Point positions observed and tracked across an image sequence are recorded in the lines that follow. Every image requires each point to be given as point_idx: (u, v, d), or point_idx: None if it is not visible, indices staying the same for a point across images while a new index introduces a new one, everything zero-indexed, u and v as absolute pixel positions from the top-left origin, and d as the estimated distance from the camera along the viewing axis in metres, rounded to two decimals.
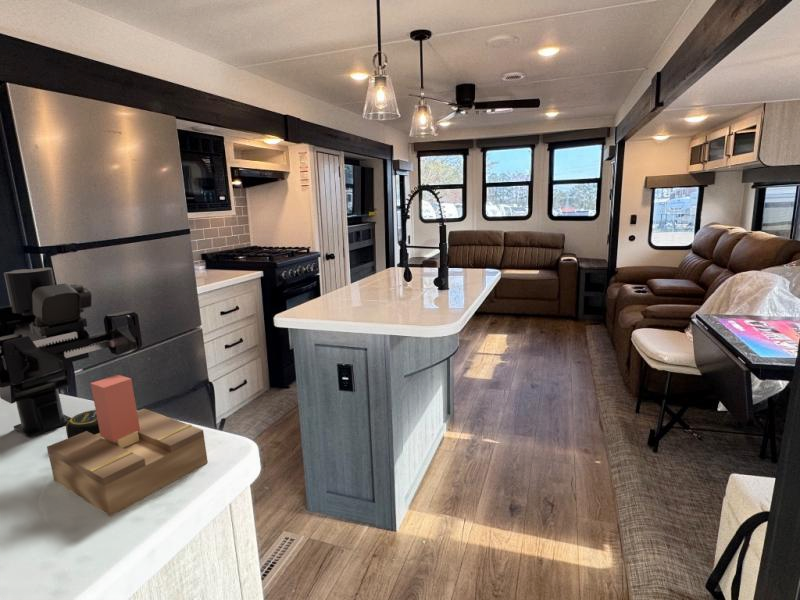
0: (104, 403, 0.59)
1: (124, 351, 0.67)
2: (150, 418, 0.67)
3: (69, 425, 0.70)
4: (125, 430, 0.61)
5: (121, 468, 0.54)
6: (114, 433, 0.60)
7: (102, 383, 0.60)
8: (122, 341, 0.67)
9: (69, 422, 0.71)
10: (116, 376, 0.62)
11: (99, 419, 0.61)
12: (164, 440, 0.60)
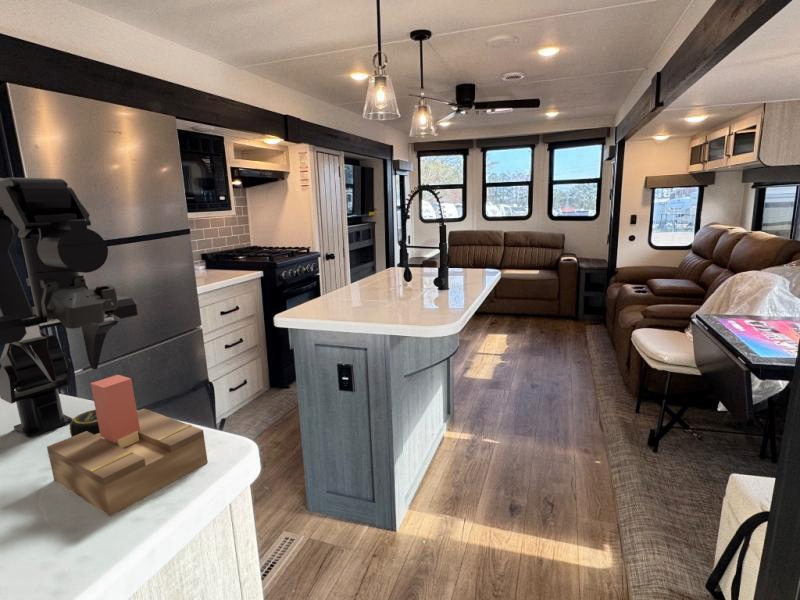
0: (104, 403, 0.59)
1: None
2: (150, 418, 0.67)
3: (73, 424, 0.70)
4: (125, 430, 0.61)
5: (121, 468, 0.54)
6: (114, 433, 0.60)
7: (102, 383, 0.60)
8: (90, 346, 0.68)
9: (73, 421, 0.71)
10: (116, 376, 0.62)
11: (99, 419, 0.61)
12: (164, 440, 0.60)
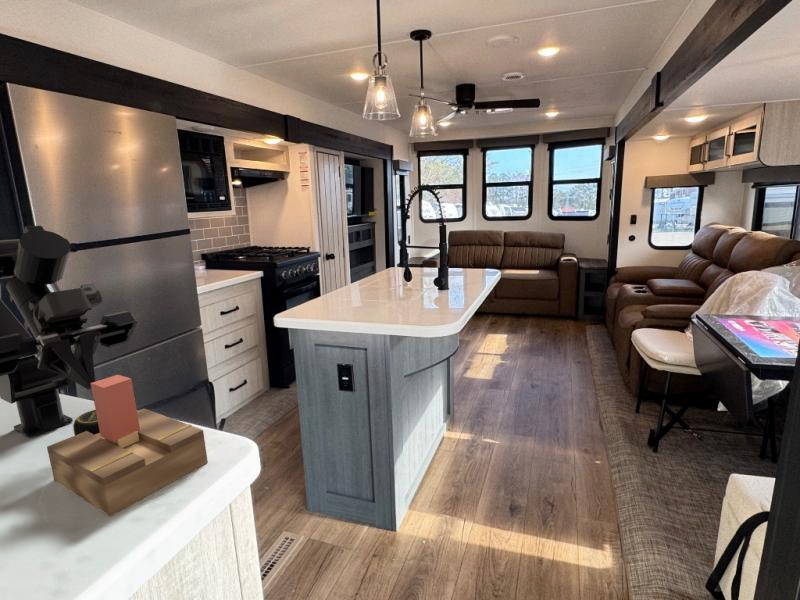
0: (104, 403, 0.59)
1: None
2: (150, 418, 0.67)
3: (76, 424, 0.70)
4: (125, 430, 0.61)
5: (121, 468, 0.54)
6: (114, 433, 0.60)
7: (102, 383, 0.60)
8: (82, 366, 0.65)
9: (76, 421, 0.71)
10: (116, 376, 0.62)
11: (99, 419, 0.61)
12: (164, 440, 0.60)
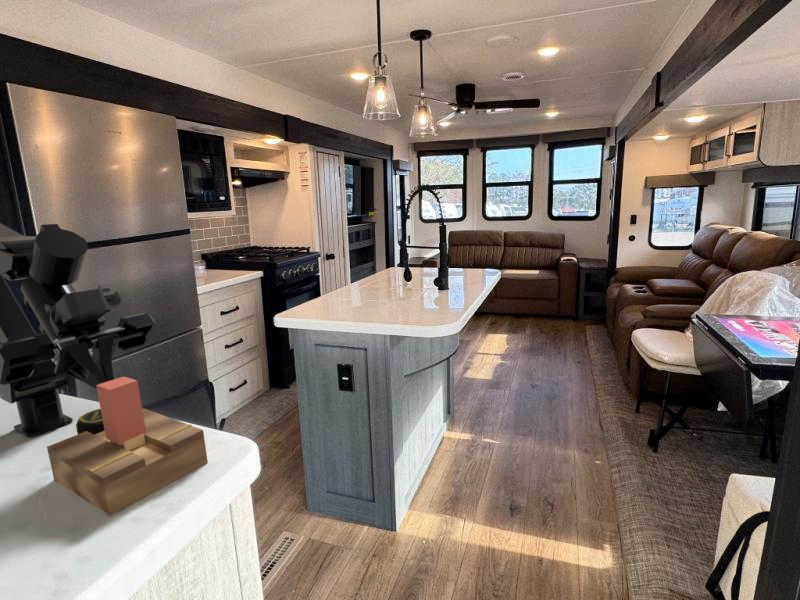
0: (110, 406, 0.58)
1: None
2: (150, 418, 0.67)
3: (79, 423, 0.70)
4: (131, 433, 0.60)
5: (121, 468, 0.54)
6: (120, 436, 0.59)
7: (108, 385, 0.59)
8: (101, 371, 0.62)
9: (79, 420, 0.71)
10: (121, 378, 0.62)
11: (105, 422, 0.60)
12: (164, 440, 0.60)
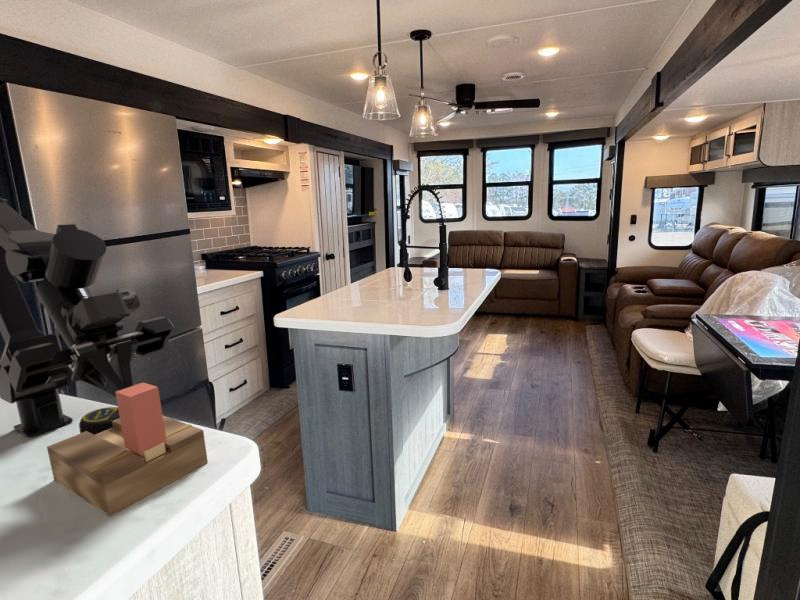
0: (130, 413, 0.56)
1: None
2: None
3: (82, 422, 0.70)
4: (151, 441, 0.58)
5: (121, 468, 0.54)
6: (140, 445, 0.57)
7: (128, 392, 0.57)
8: (120, 378, 0.60)
9: (82, 419, 0.71)
10: (141, 384, 0.59)
11: (125, 430, 0.57)
12: None
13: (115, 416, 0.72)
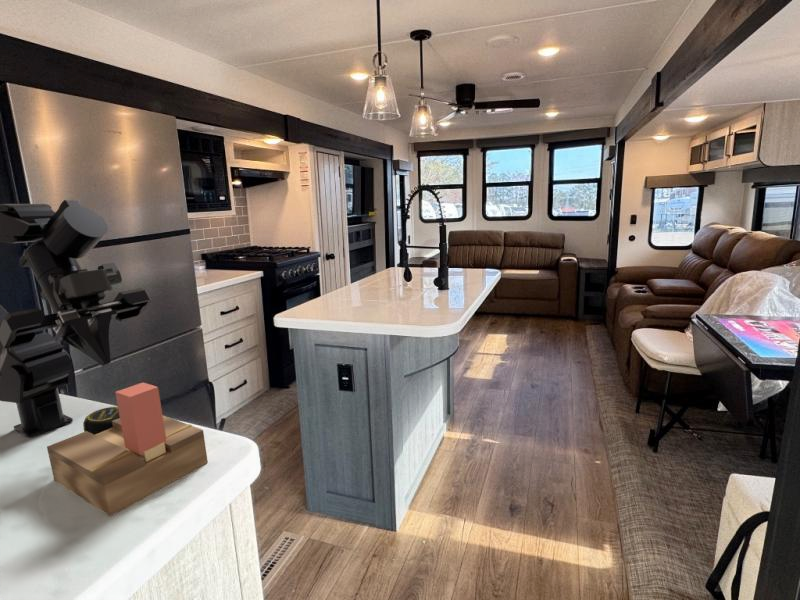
0: (130, 413, 0.56)
1: None
2: None
3: (87, 422, 0.71)
4: (151, 441, 0.58)
5: (121, 468, 0.54)
6: (140, 445, 0.57)
7: (128, 392, 0.57)
8: (98, 343, 0.67)
9: (86, 419, 0.71)
10: (141, 384, 0.59)
11: (125, 430, 0.57)
12: None
13: (119, 416, 0.72)
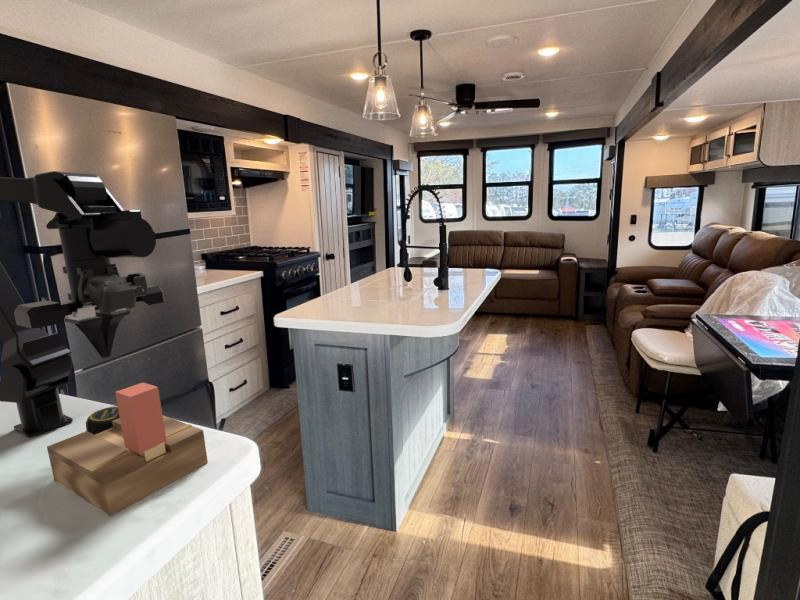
0: (130, 413, 0.56)
1: None
2: None
3: (89, 421, 0.71)
4: (151, 441, 0.58)
5: (121, 468, 0.54)
6: (140, 445, 0.57)
7: (128, 392, 0.57)
8: (104, 335, 0.71)
9: (89, 418, 0.71)
10: (141, 384, 0.59)
11: (125, 430, 0.57)
12: None
13: None
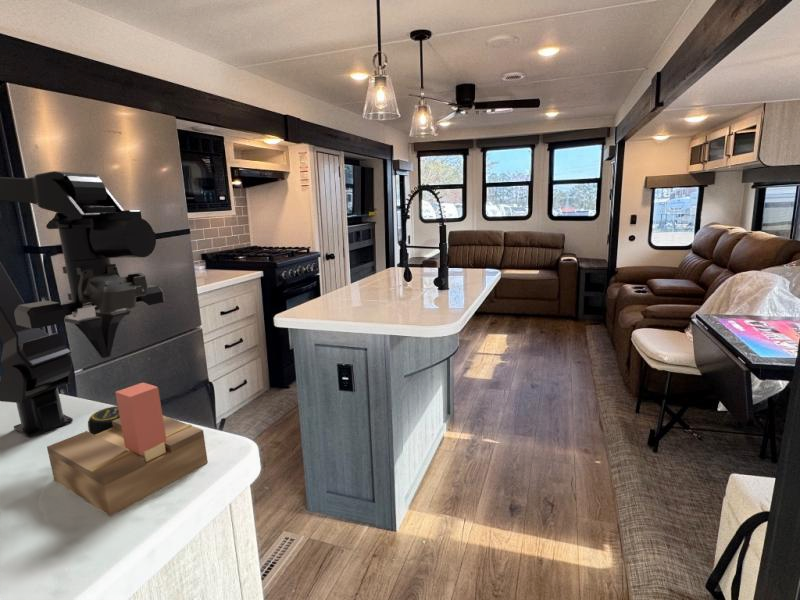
0: (130, 413, 0.56)
1: None
2: None
3: (91, 421, 0.71)
4: (151, 441, 0.58)
5: (121, 468, 0.54)
6: (140, 445, 0.57)
7: (128, 392, 0.57)
8: (104, 335, 0.71)
9: (91, 418, 0.72)
10: (141, 384, 0.59)
11: (125, 430, 0.57)
12: None
13: None
